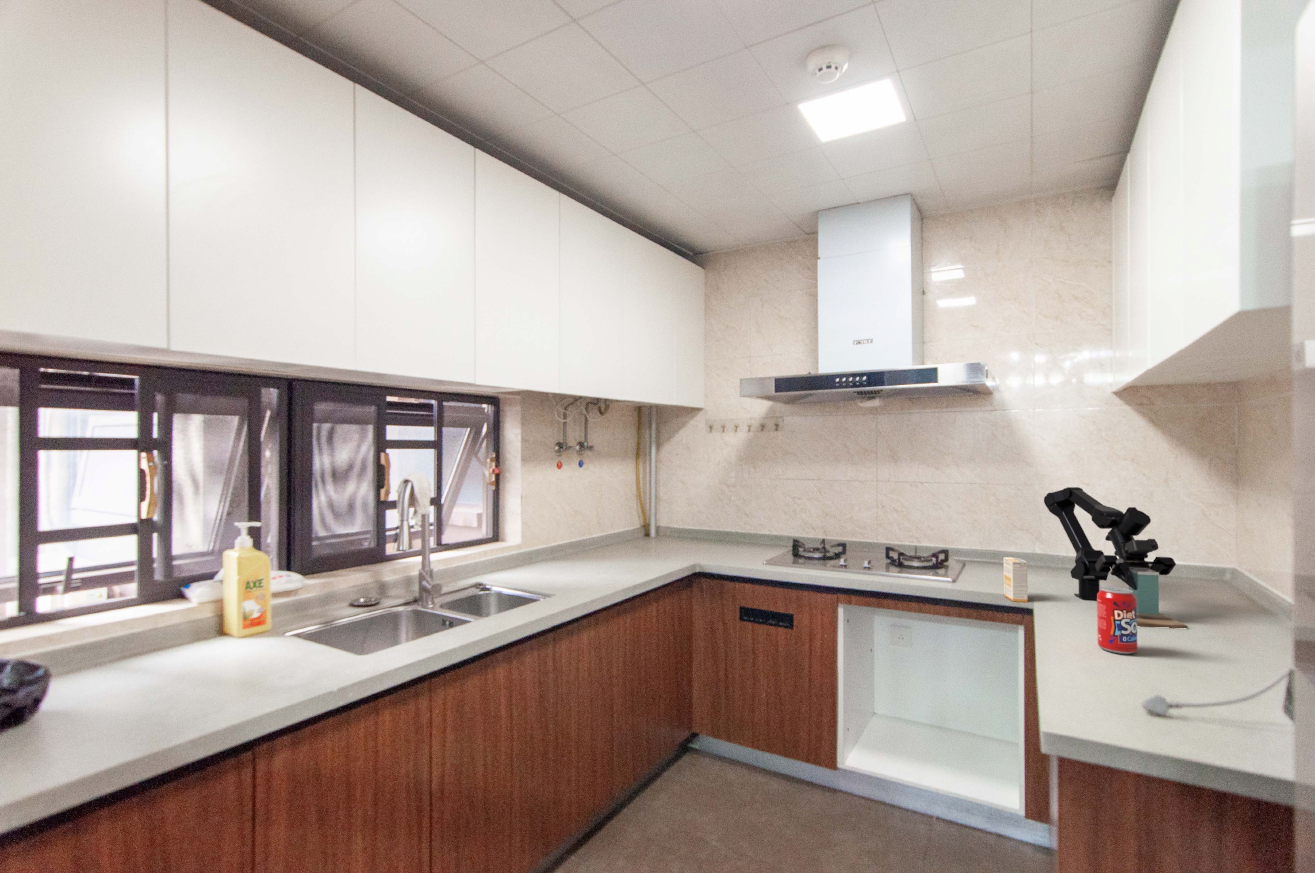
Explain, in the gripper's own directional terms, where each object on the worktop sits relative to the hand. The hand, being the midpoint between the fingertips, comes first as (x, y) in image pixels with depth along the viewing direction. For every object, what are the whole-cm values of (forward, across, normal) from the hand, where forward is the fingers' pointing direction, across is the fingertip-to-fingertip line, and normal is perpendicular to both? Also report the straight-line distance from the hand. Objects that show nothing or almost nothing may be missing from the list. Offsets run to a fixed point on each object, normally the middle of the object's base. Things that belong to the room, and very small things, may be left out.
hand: (1146, 589), depth 176 cm
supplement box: (-8, -27, +22) cm, 36 cm away
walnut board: (+6, 0, +8) cm, 10 cm away
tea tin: (+4, 0, +6) cm, 7 cm away
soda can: (+28, -21, -14) cm, 37 cm away
